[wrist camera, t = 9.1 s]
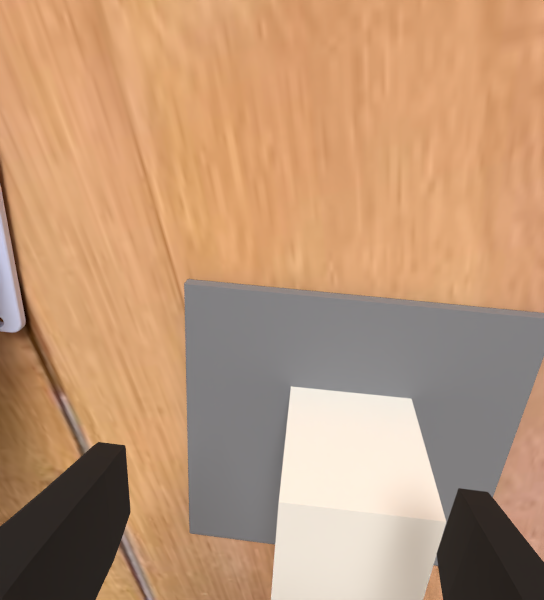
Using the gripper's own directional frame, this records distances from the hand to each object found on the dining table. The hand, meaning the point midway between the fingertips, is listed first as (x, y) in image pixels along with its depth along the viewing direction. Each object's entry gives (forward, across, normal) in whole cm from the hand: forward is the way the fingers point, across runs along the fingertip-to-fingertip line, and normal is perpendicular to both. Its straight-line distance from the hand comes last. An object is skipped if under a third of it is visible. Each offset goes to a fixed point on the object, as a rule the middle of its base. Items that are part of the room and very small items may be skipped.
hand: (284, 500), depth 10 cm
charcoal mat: (+9, -2, +6) cm, 11 cm away
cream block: (+9, -2, +6) cm, 11 cm away
